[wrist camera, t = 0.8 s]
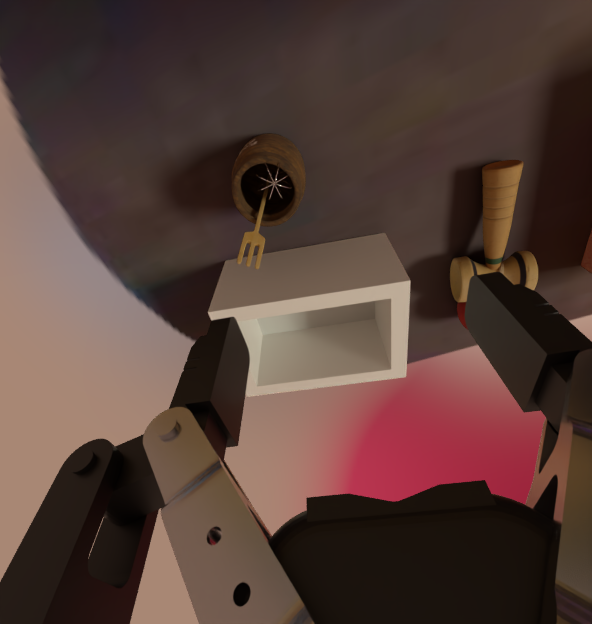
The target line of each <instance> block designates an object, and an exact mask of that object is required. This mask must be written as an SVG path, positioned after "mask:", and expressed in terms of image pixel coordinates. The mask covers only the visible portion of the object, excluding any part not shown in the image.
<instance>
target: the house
mask: <svg viewBox="0 0 592 624" xmlns="http://www.w3.org/2000/svg"><path fill="white" fill-rule="evenodd" d="M581 266H582V267H583V268H585V269H586V270H587V271H589V272H590V273H592V230H591V233H590V236H589V240H588V243H587V246H586V249H585V253H584V256H583V259H582V263H581Z"/></svg>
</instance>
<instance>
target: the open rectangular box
mask: <svg viewBox="0 0 592 624" xmlns="http://www.w3.org/2000/svg"><path fill="white" fill-rule="evenodd" d="M256 258H257V255H255V256H252V260H251V264H250V266H249V267H248V266H246V261H247V257H243V258H242V262H241V264H238V263H237V259H232V260H226V261H225V263H224V266H223V269H222V272H221V275H220V278H219V281H218V284H217V287H216V290H215V293H214V296H213V298H212V301H211V304H210V307H209V310H208V314H209V316H210V318H211V320H216V319H222V318H228V317H235V319H236V320H237V323H238V325H239V327H240V330H241V332H242V335H243V337H244V339H245V342H246V344H247V347H248V350H249V355H250V365H249V372H248V379H247V386H246V395H247V397H249V396H257V395H265V394H273V393H282V392H289V391H297V390H306V389H314V388H322V387H330V386H337V385H345V384H354V383H362V382H370V381H378V380H386V379H394V378H402V377H406V368H407V346H408V324H409V302H410V279H409V277H408V275H407V273H406V271H405V269H404V268H403V266H402V264H401V262H400V260H399V258H398V256H397V255H396V253H395V251H394V249H393V247H392V245H391V243H390V242H389V240H388V238H387V236H386V234H385V233H380V234H374V235H369V236H363V237H357V238H352V239H346V240H340V241H335V242H329V243H323V244H317V245H312V246H306V247H300V248H295V249H289V250H283V251H277V252H272V253H266V254H262V257H261V262H260V266H259V269H255V263H256Z"/></svg>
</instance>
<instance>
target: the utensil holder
mask: <svg viewBox="0 0 592 624" xmlns="http://www.w3.org/2000/svg"><path fill="white" fill-rule="evenodd" d="M231 180H232V196H233V200H234V203H235V205H236V207H237V209H238V211H239V212H240V213H241V214H242V215H243V216H244V217H245V218H246V219H247V220H249V221H250V222H252V223H254V224H256V225H255V229H254V231H253V232H246V233H244V237H243V240H242V244H241V248H240V251H239V255H238V258H237V263H238V264H241V262H242V258H243V254H244V250H245V247H246V244H247V243H249V244H250V249H249V253H248V257H247V261H246V266H248V267H249V266H250V264H251V260H252V256H253V252H254V248H255V246H258V247H259V249H258V254H257V258H256V263H255V269H259V266H260V262H261V257H262V253H263V248H264V243H265V238H264V237H263V236H261V235H260V234H259V233H258V231H259V227H260V226H267V227H270V226H276V225H280V224H282V223H284V222H286V221H287V220H288V219H290V218H291V217H292V216H293V214H294V213H295V212H296V210H297V208H298V206H299V204H300V202H301V200H302V197H303V195H304V191H305V184H306V177H305V167H304V162H303V159H302V156H301V154H300V152H299V150H298V149H297V148H296V146H295V145H294V144H293V143H292V142H291V141H290V140H288V139H287V138H285V137H283V136H281V135H278V134H271V133H267V134H262V135H259V136H256V137H254V138H253V139H251V140H250V141H249V142H248V143H247V144H246V145H245V146H244V147H243V149H242V150H241V152H240V153H239V155H238V157H237V159H236V161H235V163H234V166H233V170H232V178H231Z"/></svg>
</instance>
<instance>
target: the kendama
mask: <svg viewBox="0 0 592 624" xmlns="http://www.w3.org/2000/svg"><path fill="white" fill-rule="evenodd" d="M522 168H523V162H522V161H519V160H506V161H499V162H494V163H490V164H488V165H486V166H484V167H483V168H482V181H483V242H484V253H485V263H486V265H484V264H479V263H476V262H474V261H472V260H471V259H469V258H468V257H467V256H464V257H458V258H454V259H453V260H452V263H451V267H450V283H451V290H452V294H453V297H454V299H455V300H456V301H457V302H458V305H457V313H458V317H459V320H460V322H461V323H462V325H463V326H464V327H465V328H466V329H467V330H468V328H467V326H466V322H465V307H466V301H467V294H468V288H469V282H470V279H471V277H472V276H475V275H481V274H486V273H492V272H501V273H502V274H503V275H504V276H505V277H506V278H507V279H508V280H509V281H510V282H512V283H513V284H514V285H515V284H521V285H523V286H525V287H527V288H529V289H531V290H534V289H535V287H536V284H537V281H538V266H537V262H536V259H535V257H534V255H533V254H532V253H531V252H529V251H517V252H514V253H513V254H512V255H511V256H510V257H509V258H508V259H506V260H505V261H503V262H501V261H502V258H503V254H504V251H505V248H506V244H507V240H508V237H509V232H510V228H511V223H512V218H513V212H514V206H515V204H514V203H515V201H516V196H517V191H518V186H519V181H520V177H521V172H522Z"/></svg>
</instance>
